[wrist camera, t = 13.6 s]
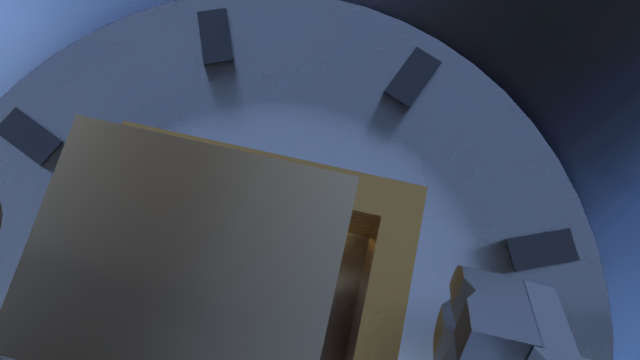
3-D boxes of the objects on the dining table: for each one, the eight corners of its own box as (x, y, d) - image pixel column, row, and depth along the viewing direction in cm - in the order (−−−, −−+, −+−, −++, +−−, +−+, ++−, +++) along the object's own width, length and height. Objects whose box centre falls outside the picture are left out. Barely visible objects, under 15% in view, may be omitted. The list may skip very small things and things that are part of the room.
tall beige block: (334, 262, 16) (359, 177, 7) (310, 374, 15) (303, 431, 6) (205, 233, 16) (75, 114, 7) (173, 340, 15) (-16, 351, 6)
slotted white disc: (614, 75, 19) (696, 5, 15) (558, 821, 13) (666, 1038, 9) (56, -38, 20) (-10, -132, 16) (-222, 605, 14) (-434, 713, 10)
